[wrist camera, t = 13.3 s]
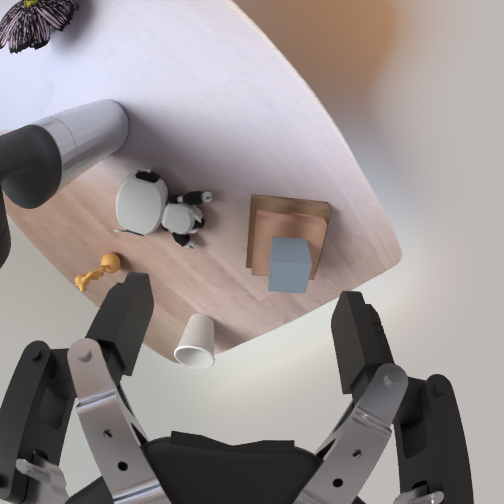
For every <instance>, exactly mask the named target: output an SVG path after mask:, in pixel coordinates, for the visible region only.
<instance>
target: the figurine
mask: <svg viewBox="0 0 504 504" xmlns="http://www.w3.org/2000/svg"><path fill="white" fill-rule="evenodd" d="M101 265H102V266H101V267H100V268H98V269H97V270H94V271H92V272H90V273H86V274H81V275H78V276H77V277H76V278H75V282H76V286H78V287H79V288H80V291H81V292H84V291H86V286H87V285H88V284H89V283H90V280H98V278H99V277H101V276H103V275H104V272H107V273H115V272H116V271H118V269H119V268H120V259H119V257H118V256H117V255H116V254H114V253H108V254H106V255H104V256H103V258H102V261H101ZM100 271H101V272H100ZM103 271H104V272H103Z"/></svg>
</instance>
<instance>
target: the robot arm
mask: <svg viewBox="0 0 504 504" xmlns="http://www.w3.org/2000/svg"><path fill="white" fill-rule="evenodd" d="M128 131H129V122H128V117H127V115H126V112H125V111H124V109H123V108H122V107H121V106H120V105H119V104H118V103H116V102H114V101H112V100H100V101H96V102H92V103H89V104H85V105H82V106H78V107H75V108H72V109H69V110H66V111H63V112H60V113H57V114H55V115H52V116H49V117H46V118H44V119H41V120H39V121H37V122H34V123H32V124H29V125H27V126H24V127H22V128H19V129H17V130H14V131H12V132H9V133H6V134H4V135H1V136H0V268H1V267H2V265H3V264H4V263H5V261H6V259H7V257H8V255H9V252H10V247H11V238H10V231H9V226H8V221H7V216H6V210H5V205H4V199H3V193H2V189H3V191H4V192H5V194H6V195H7V196H8V197H9V199H10V200H11V201H12V202H14V203H15V204H16V205H18V206H20V207H23V208H26V209H33V208H37V207H39V206H41V205H42V204H44V203H45V202H46V201H47V200H49V199H50V198H51V197H52V196H53V195H55V194H56V193H57V192H59V191H60V190H61V189H62V188H64V187H65V186H66V185H67V184H69V183H70V182H71V181H73V180H74V179H75V178H77V177H78V176H80V175H81V174H82V173H84V172H85V171H87V170H88V169H89V168H91V167H92V166H94V165H95V164H97V163H98V162H100V161H101V160H103V159H104V158H106V157H107V156H109V155H110V154H112V153H114V152H115V151H117V150H118V149H119V148H120V147H121V146H122V145H123V144H124V142H125V141H126V138H127V136H128ZM153 308H154V300H153V295H152V290H151V285H150V280H149V276H148V274H146V273H137V272H129V274H128V275H127V277H126V279H125V281H124V283H117V284H116V285H115V286H113V287H112V288H111V289H110V290H109V292H108V294H107V295H106V297H105V299H104V301H103V303H102V305H101V307H100V309H99V311H98V313H97V315H96V317H95V318H94V320H93V323H92V325H91V327H90V329H89V331H88V333H87V335H86V337H85V338H84V339H80V340H77V341H76V342H74V343H73V344H72V345H71V347H70V348H67V349H50V348H49V346H48V345H47V344H46V343H45V342H43V341H34V342H32V343H30V344H29V345H28V346H27V347H26V348H25V349H24V351H23V353H22V355H21V358H20V360H19V362H18V365H17V367H16V369H15V371H14V374H13V376H12V379H11V381H10V384H9V386H8V389H7V391H6V394H5V397H4V400H3V403H2V405H1V408H0V499H2V500H5V501H8V502H10V503H12V504H366V503H365V502H363V501H362V500H361V499H360V498H359V497H358V496H357V494H358V493H359V491H360V490H361V488H362V487H363V485H364V484H365V482H366V480H367V479H368V477H369V475H370V473H371V472H372V470H373V469H374V467H375V465H376V463H377V462H378V460H379V458H380V456H381V454H382V452H383V450H384V449H385V447H386V445H387V443H388V441H389V439H390V437H391V433H392V431H391V430H390V425H391V423H392V424H394V430H395V438H396V447H397V456H398V465H399V478H400V495H399V496H398V497H397V498H396V499H395V501H394V503H393V504H474V501H473V489H472V479H471V471H470V464H469V458H468V452H467V446H466V441H465V436H464V431H463V427H462V422H461V418H460V414H459V410H458V406H457V402H456V398H455V395H454V391H453V388H452V385H451V383H450V381H449V380H448V379H447V378H446V377H445V376H443V375H440V374H434V375H431V376H430V377H429V378H428V379H427V380H426V381H425V380H421V379H416V378H411V377H408V376H407V374H406V373H405V371H404V370H403V369H402V368H401V367H400V366H398V365H396V364H395V363H394V361H393V357H392V354H391V351H390V347H389V344H388V341H387V338H386V335H385V333H384V329H383V326H382V325H381V321H380V318H379V315H378V313H377V312H376V310H375V309H374V308H373V307H372V305H371V304H365V302H364V299H363V296H362V293H361V292H357V291H342V293H341V295H340V297H339V300H338V303H337V305H336V308H335V310H334V313H333V315H332V319H331V330H332V335H333V340H334V346H335V351H336V356H337V362H338V368H339V373H340V380H341V386H342V392H343V394H352V398H353V400H352V401H351V403H350V404H349V406H348V408H347V409H346V411H345V412H344V414H343V415H342V417H341V418H340V420H339V421H338V423H337V424H336V426H335V427H334V429H333V430H332V432H331V433H330V435H329V436H328V437H327V439H326V440H325V441H324V442H323V443H322V444H321V446H320V447H319V448H318V449H317V451H316V452H315V453H314V454H313V453H311V452H309V451H307V450H305V449H302V448H299V447H295V446H294V440H291V441H288V440H287V441H285V440H284V441H283V440H282V441H279V440H278V441H276V440H263V441H258V442H253V443H247V444H241V445H234V446H232V445H228V444H225V443H222V442H219V441H216V440H213V439H210V438H207V437H205V436H202V435H195V434H189V433H182V432H177V431H172V432H171V437H163V438H158V439H155V440H152V441H149V439H148V437H147V436H146V434H145V432H144V430H143V429H142V427H141V425H140V424H139V422H138V420H137V418H136V416H135V414H134V412H133V410H132V408H131V406H130V404H129V401H128V399H127V397H126V395H125V392H124V390H123V388H122V385H121V383H120V381H121V378H122V375H127V376H131V375H132V372H133V369H134V366H135V363H136V360H137V356H138V353H139V351H140V347H141V345H142V342H143V339H144V336H145V333H146V330H147V327H148V324H149V322H150V319H151V316H152V313H153ZM75 398H78V400H79V404H78V405H77V412H78V416H79V419H80V422H81V425H82V428H83V431H84V433H85V436H86V438H87V441H88V444H89V446H90V449H91V451H92V454H93V456H94V459H95V461H96V463H97V465H98V468H99V470H100V472H101V474H102V476H101V477H99V478H98V479H96V480H95V481H94V482H92V483H91V484H90V485H88V486H86V487H85V488H83V489H82V490H80V491H79V492H77V493H76V494H74V495H73V496H71V497H69V496H68V494H67V492H66V490H65V486H66V481H65V478H64V475H63V473H62V471H61V469H60V468H59V462H60V457H61V452H62V447H63V443H64V439H65V434H66V430H67V426H68V422H69V419H70V414H71V411H72V408H73V404H74V401H75Z"/></svg>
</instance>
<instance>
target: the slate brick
mask: <svg viewBox="0 0 504 504" xmlns="http://www.w3.org/2000/svg"><path fill="white" fill-rule="evenodd" d="M311 267H312V262H311V257H310V253H309V248H308V243H307V239H298V238H287V237H275V236H272V243H271V251H270V259H269V291H276V292H291V293H305V291H306V287H307V283H308V279H309V275H310V271H311Z"/></svg>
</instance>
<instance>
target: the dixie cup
mask: <svg viewBox="0 0 504 504" xmlns="http://www.w3.org/2000/svg"><path fill="white" fill-rule="evenodd" d="M174 355H175V358H176V359H177V360H178V361H179V362H180V363H182V364H183V365H185V366H188V367H191V368H196V369H205V368H208V367H211V366H212V365H213V364H214V362H215V358H214V321H213V319H212V318H211V317H209V316H208V315H205V314H194V315H192V316H191V317H190V319H189V321H188V324H187V326H186V328H185V331H184V333H183V335H182V338H181V340H180V342H179V345H178V347H177V349H176V350H175V351H174Z"/></svg>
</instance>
